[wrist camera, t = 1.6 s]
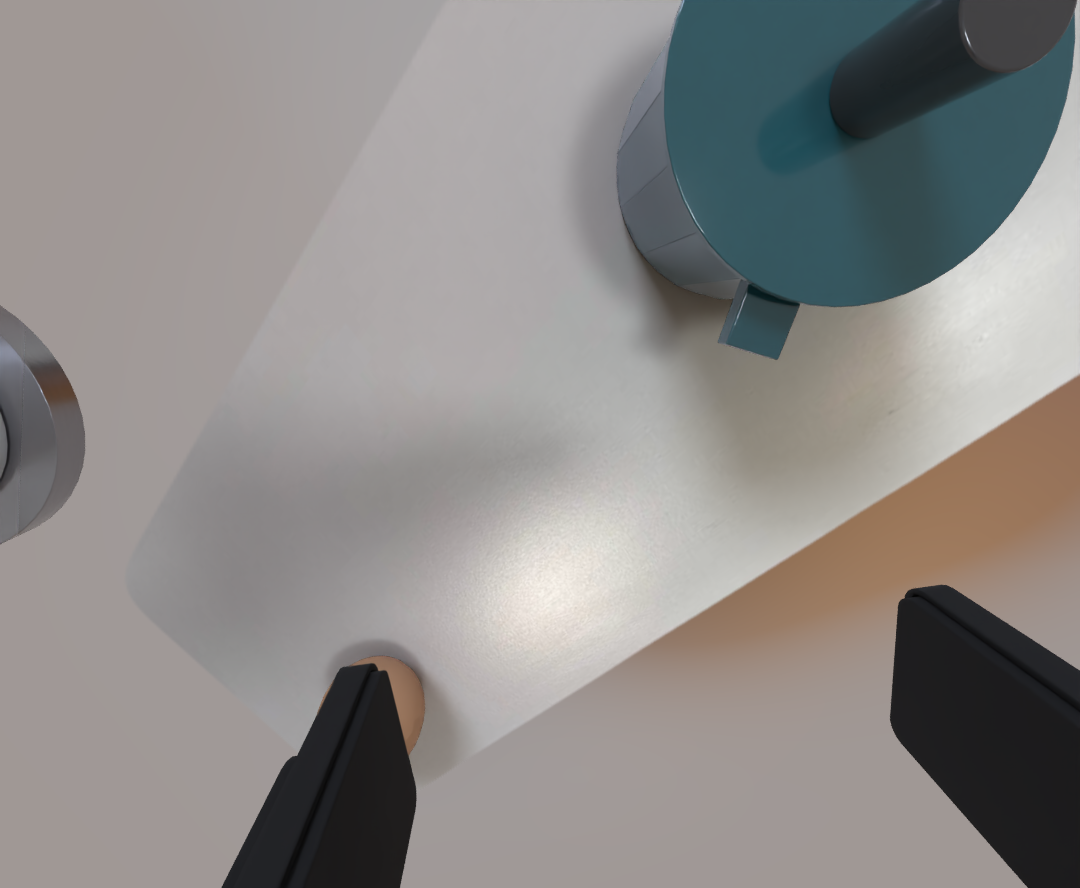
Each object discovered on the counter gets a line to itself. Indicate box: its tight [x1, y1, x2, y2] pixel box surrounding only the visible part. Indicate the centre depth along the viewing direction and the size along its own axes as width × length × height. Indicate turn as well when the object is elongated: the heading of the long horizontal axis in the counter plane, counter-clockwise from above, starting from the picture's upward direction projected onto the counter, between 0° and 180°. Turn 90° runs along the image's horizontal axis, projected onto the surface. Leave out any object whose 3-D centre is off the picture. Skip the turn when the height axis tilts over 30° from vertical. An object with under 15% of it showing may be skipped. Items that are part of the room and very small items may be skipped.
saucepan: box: [617, 39, 800, 360], centre depth 23 cm, size 14×19×10 cm
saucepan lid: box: [661, 0, 1077, 307], centre depth 16 cm, size 15×15×7 cm
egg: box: [317, 656, 425, 756], centre depth 32 cm, size 6×6×8 cm
